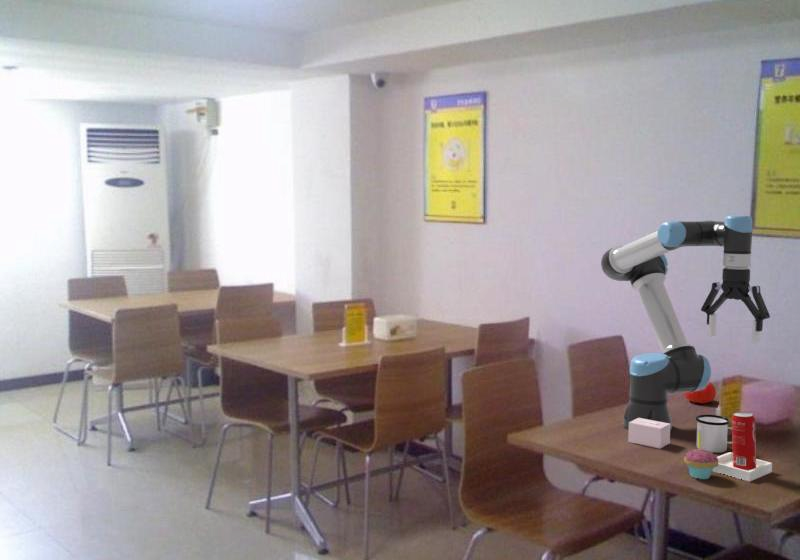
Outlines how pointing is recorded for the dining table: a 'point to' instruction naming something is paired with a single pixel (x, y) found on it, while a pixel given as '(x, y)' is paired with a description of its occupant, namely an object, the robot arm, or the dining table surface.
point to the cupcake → (700, 461)
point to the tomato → (702, 394)
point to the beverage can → (744, 441)
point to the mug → (713, 432)
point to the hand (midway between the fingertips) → (733, 339)
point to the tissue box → (649, 433)
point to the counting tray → (727, 468)
